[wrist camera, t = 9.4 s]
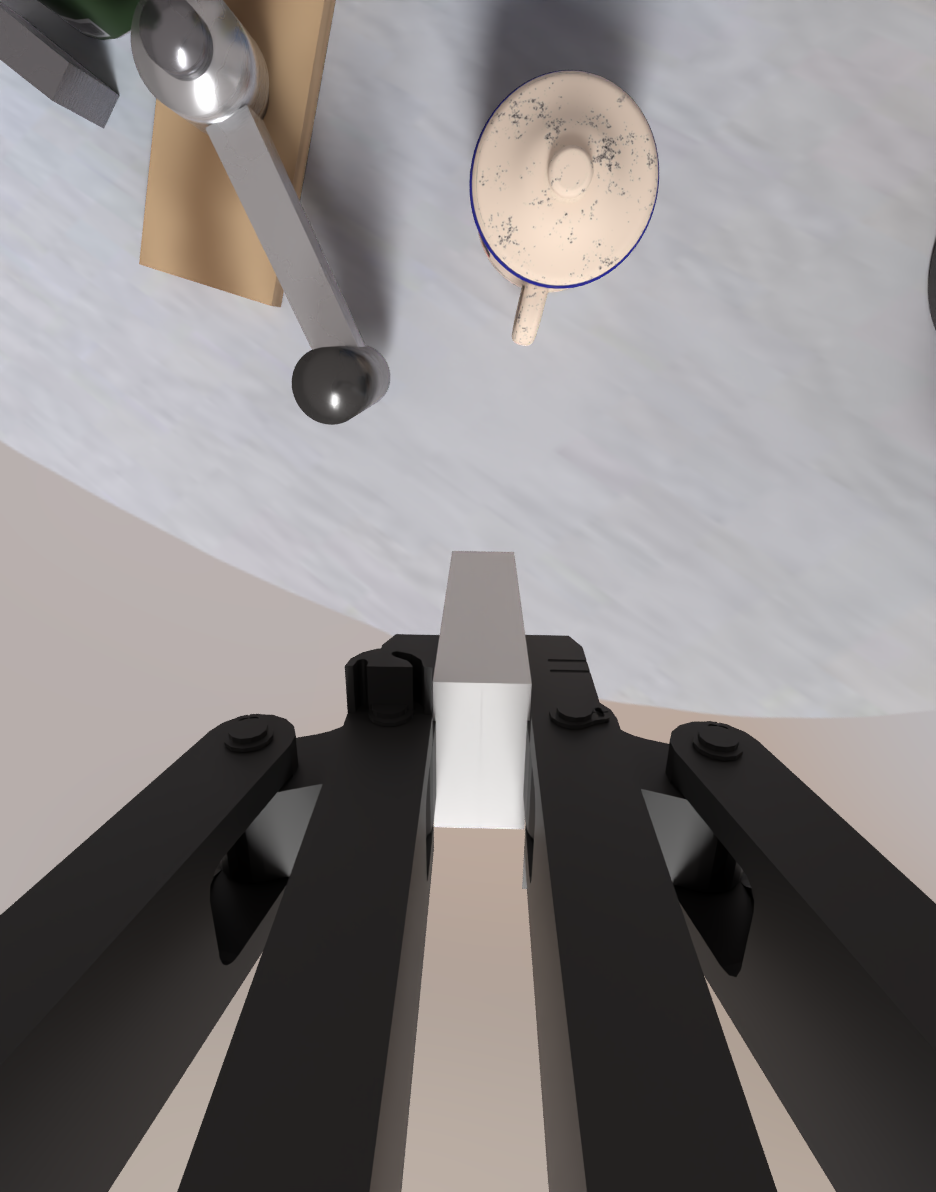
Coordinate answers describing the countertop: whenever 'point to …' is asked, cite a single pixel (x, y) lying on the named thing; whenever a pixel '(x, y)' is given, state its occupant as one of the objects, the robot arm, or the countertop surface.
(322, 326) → the lever
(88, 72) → the pivot and anvil
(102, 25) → the green drink can
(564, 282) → the teacup with lid
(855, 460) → the countertop surface
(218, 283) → the press bench
